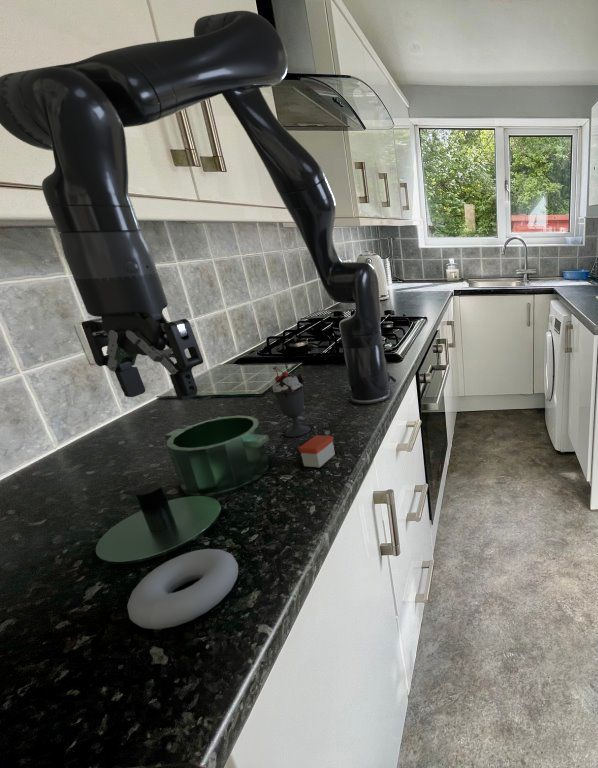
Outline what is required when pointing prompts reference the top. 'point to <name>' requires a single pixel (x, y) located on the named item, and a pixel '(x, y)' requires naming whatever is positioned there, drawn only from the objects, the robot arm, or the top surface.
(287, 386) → the sundae
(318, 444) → the block
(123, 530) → the lid
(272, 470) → the top surface
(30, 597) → the top surface
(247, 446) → the pot
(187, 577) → the donut
